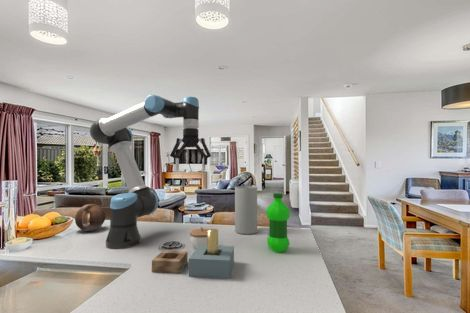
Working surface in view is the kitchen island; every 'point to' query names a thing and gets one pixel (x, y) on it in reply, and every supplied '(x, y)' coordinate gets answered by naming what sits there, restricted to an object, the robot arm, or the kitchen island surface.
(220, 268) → the dock socket
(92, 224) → the wooden sphere
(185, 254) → the block
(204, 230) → the lidded jar
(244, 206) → the cylinder vase
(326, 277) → the kitchen island surface
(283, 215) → the plastic bottle
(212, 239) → the brass pin
